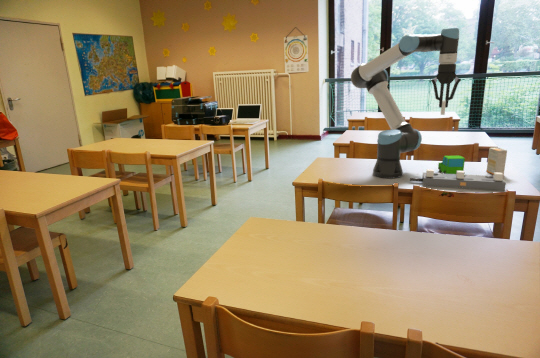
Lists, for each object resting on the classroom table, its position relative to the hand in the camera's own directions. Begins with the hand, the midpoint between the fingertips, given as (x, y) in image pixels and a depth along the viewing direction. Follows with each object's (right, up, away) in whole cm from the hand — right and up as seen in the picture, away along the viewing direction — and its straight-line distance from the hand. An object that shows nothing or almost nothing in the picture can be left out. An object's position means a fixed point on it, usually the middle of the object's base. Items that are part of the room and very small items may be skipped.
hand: (442, 114), depth 177 cm
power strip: (+5, -34, -2) cm, 35 cm away
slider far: (+20, -32, -11) cm, 39 cm away
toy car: (+11, -29, +16) cm, 35 cm away
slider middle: (+5, -31, -6) cm, 32 cm away
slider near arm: (-7, -30, -2) cm, 31 cm away
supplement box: (+34, -29, +13) cm, 46 cm away
